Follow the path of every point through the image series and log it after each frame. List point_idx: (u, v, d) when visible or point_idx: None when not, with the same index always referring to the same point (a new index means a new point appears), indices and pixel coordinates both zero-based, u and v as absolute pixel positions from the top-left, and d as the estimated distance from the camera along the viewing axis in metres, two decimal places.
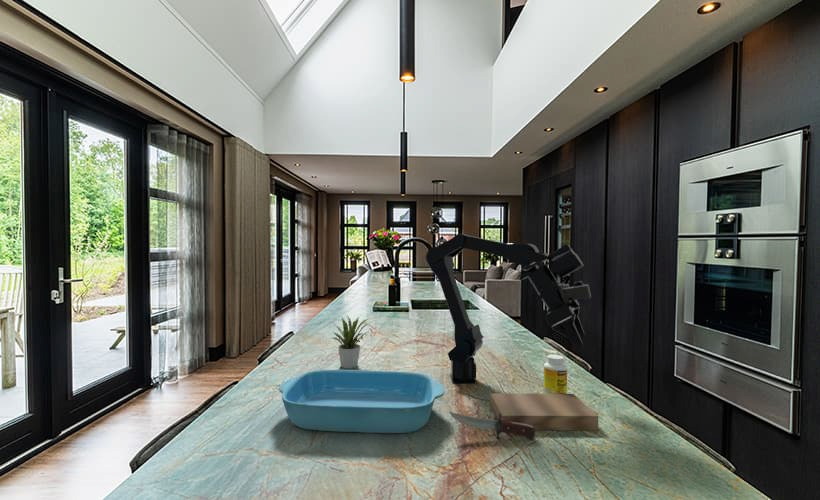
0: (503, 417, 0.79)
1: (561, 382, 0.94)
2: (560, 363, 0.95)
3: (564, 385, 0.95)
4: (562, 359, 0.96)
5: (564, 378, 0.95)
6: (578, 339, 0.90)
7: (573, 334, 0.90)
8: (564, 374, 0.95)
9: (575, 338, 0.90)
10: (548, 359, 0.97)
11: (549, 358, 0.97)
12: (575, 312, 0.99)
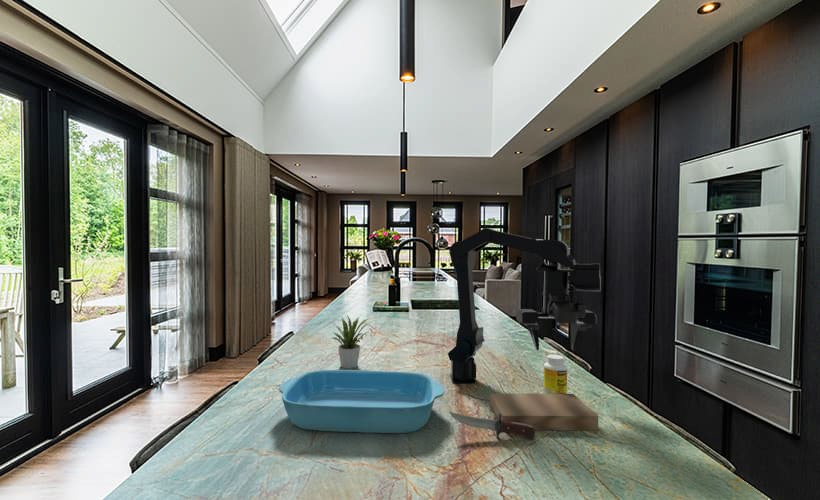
0: (503, 417, 0.79)
1: (561, 382, 0.94)
2: (560, 363, 0.95)
3: (564, 385, 0.95)
4: (562, 359, 0.96)
5: (564, 378, 0.95)
6: (535, 344, 0.97)
7: (533, 338, 0.97)
8: (564, 374, 0.95)
9: (534, 342, 0.97)
10: (548, 359, 0.97)
11: (549, 358, 0.97)
12: (578, 326, 0.95)
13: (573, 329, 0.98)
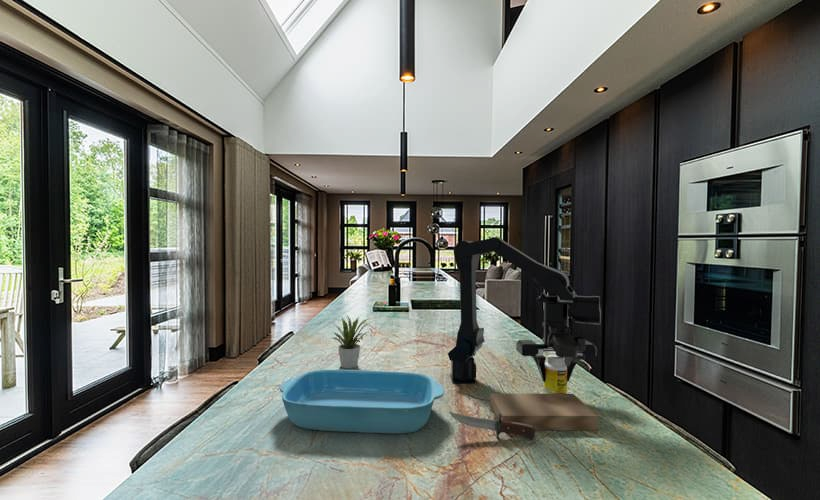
0: (503, 417, 0.79)
1: (561, 382, 0.94)
2: (560, 363, 0.95)
3: (564, 385, 0.95)
4: (562, 359, 0.96)
5: (564, 378, 0.95)
6: (541, 376, 0.97)
7: (539, 369, 0.97)
8: (564, 374, 0.95)
9: (541, 373, 0.97)
10: (548, 359, 0.97)
11: (549, 357, 0.97)
12: (571, 358, 0.95)
13: (566, 360, 0.98)
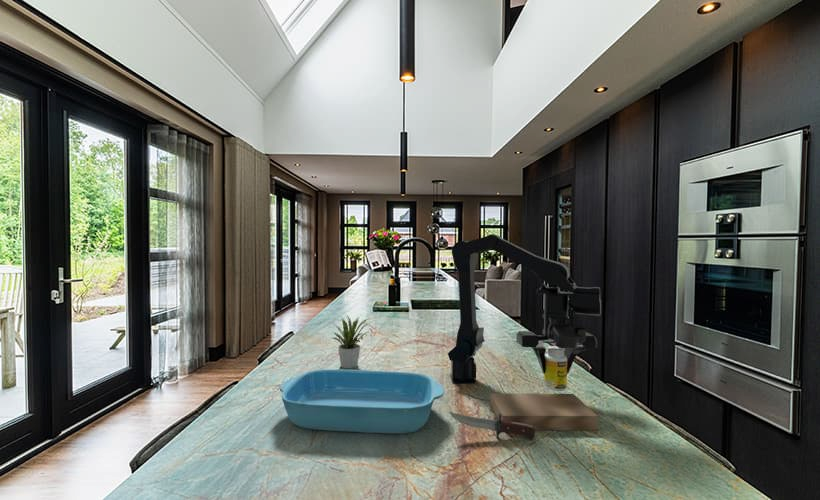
0: (503, 417, 0.79)
1: (561, 373, 0.94)
2: (560, 354, 0.95)
3: (564, 376, 0.95)
4: (562, 350, 0.96)
5: (564, 370, 0.95)
6: (541, 367, 0.97)
7: (539, 361, 0.97)
8: (564, 365, 0.95)
9: (541, 365, 0.97)
10: (548, 350, 0.97)
11: (549, 349, 0.97)
12: (571, 350, 0.95)
13: (567, 351, 0.98)
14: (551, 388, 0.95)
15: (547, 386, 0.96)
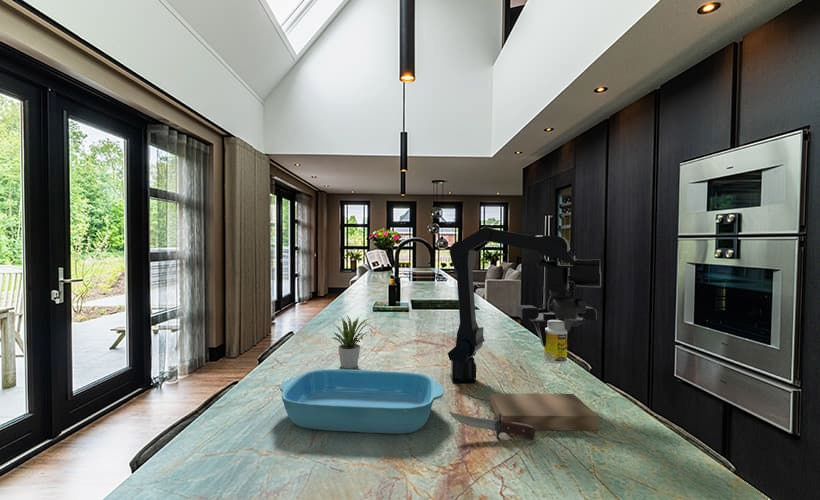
0: (503, 417, 0.79)
1: (561, 346, 0.94)
2: (560, 327, 0.95)
3: (564, 349, 0.95)
4: (562, 323, 0.95)
5: (564, 342, 0.94)
6: (541, 340, 0.96)
7: (539, 334, 0.97)
8: (564, 338, 0.95)
9: (541, 338, 0.97)
10: (548, 324, 0.97)
11: (549, 322, 0.96)
12: (571, 322, 0.95)
13: (567, 325, 0.98)
14: (551, 361, 0.95)
15: (547, 359, 0.96)
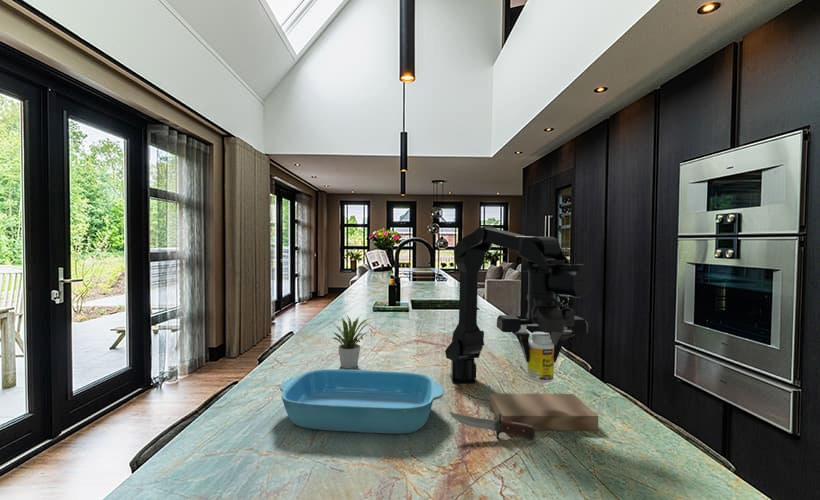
0: (503, 417, 0.79)
1: (547, 362, 0.82)
2: (546, 341, 0.83)
3: (550, 366, 0.83)
4: (548, 336, 0.83)
5: (550, 358, 0.83)
6: (525, 355, 0.85)
7: (522, 348, 0.85)
8: (551, 353, 0.83)
9: (524, 353, 0.85)
10: (532, 336, 0.85)
11: (533, 335, 0.84)
12: (558, 335, 0.83)
13: (554, 338, 0.86)
14: (535, 379, 0.83)
15: (531, 377, 0.84)
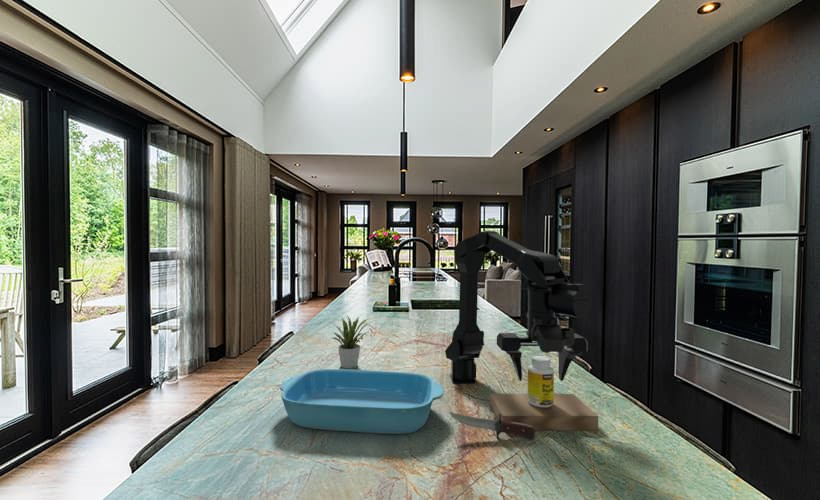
0: (503, 417, 0.79)
1: (547, 387, 0.82)
2: (546, 365, 0.83)
3: (550, 391, 0.83)
4: (548, 361, 0.84)
5: (550, 383, 0.83)
6: (517, 374, 0.85)
7: (515, 366, 0.85)
8: (550, 378, 0.83)
9: (517, 371, 0.85)
10: (532, 361, 0.85)
11: (533, 359, 0.85)
12: (566, 354, 0.83)
13: (561, 356, 0.86)
14: (535, 404, 0.83)
15: (531, 402, 0.84)
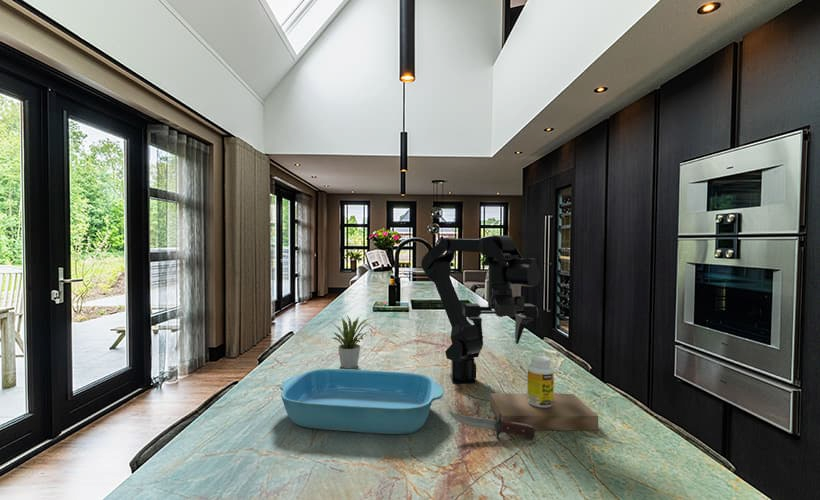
0: (503, 417, 0.79)
1: (547, 387, 0.82)
2: (545, 366, 0.83)
3: (550, 391, 0.83)
4: (548, 361, 0.84)
5: (550, 383, 0.83)
6: (479, 337, 0.99)
7: (477, 331, 0.99)
8: (550, 378, 0.83)
9: (479, 335, 0.99)
10: (532, 361, 0.85)
11: (533, 359, 0.85)
12: (520, 320, 0.97)
13: (517, 322, 1.00)
14: (535, 404, 0.83)
15: (531, 402, 0.84)
